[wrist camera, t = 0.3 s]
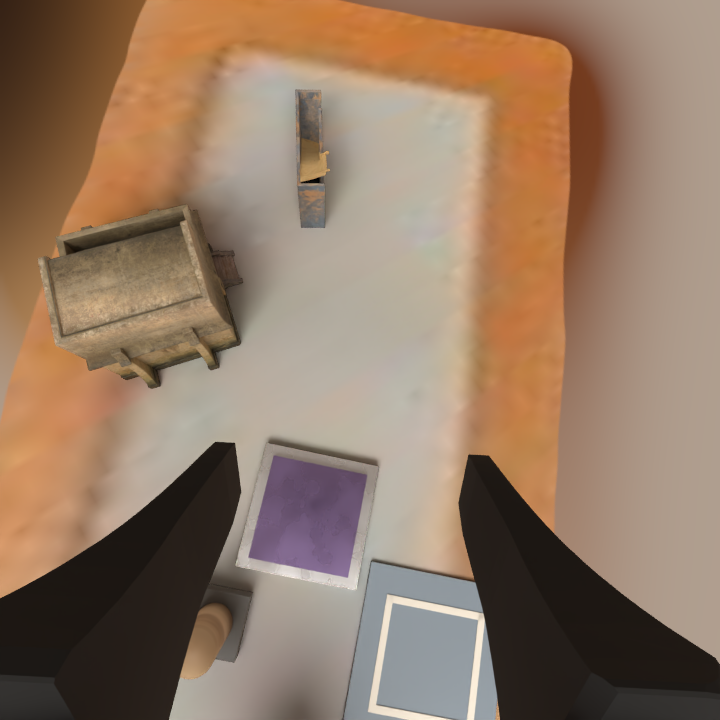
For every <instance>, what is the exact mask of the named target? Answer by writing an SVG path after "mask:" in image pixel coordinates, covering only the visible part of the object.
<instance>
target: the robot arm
mask: <svg viewBox="0 0 720 720" xmlns="http://www.w3.org/2000/svg"><path fill="white" fill-rule="evenodd" d="M240 494H241V486H240V478H239V471H238V463H237V455H236V448H235V443H226V442H215V443H214V444H212V445H211V446H210V447H209V448H208V449H207V450H206V451H205V452H204V453H203V454H202V455H201V456H200V457H199V458H198V459H197V460H196V461H195V462H194V463H193V464H192V465H191V466H190V467H189V468H188V469H187V470H186V471H185V472H183V473H182V474H181V475H180V476H179V477H178V478H177V479H176V480H175V481H174V482H173V483H172V484H171V485H169V486H168V487H167V488H166V489H165V490H164V491H163V492H162V493H161V494H159V495H158V496H157V497H156V498H155V499H154V500H152V501H151V502H150V503H149V504H148V505H146V506H145V507H144V508H143V509H142V510H141V511H139V512H138V513H137V514H136V515H134V516H133V517H132V518H131V519H129V520H128V521H127V522H125V523H124V524H123V525H121V526H120V527H119V528H117V529H116V530H114V531H113V532H112V533H110V534H109V535H108V536H106V537H105V538H103V539H102V540H100V541H99V542H97V543H96V544H94V545H93V546H91V547H89V548H88V549H86V550H85V551H83V552H82V553H80V554H78V555H77V556H75V557H74V558H72V559H71V560H69V561H68V562H66V563H64V564H63V565H61V566H59V567H57V568H56V569H54V570H52V571H51V572H49V573H47V574H45V575H44V576H42V577H40V578H38V579H36V580H35V581H33V582H31V583H29V584H27V585H25V586H24V587H22V588H20V589H18V590H16V591H14V592H12V593H10V594H8V595H6V596H4V597H2V598H0V720H169V717H170V713H171V709H172V705H173V701H174V697H175V694H176V690H177V686H178V682H179V678H180V675H181V671H182V667H183V664H184V660H185V657H186V653H187V649H188V646H189V642H190V639H191V636H192V632H193V629H194V625H195V622H196V619H197V615H198V612H199V609H200V606H201V603H202V600H203V597H204V595H205V592H206V589H207V587H208V584H209V582H210V579H211V577H212V574H213V572H214V569H215V567H216V564H217V562H218V560H219V557H220V555H221V552H222V550H223V547H224V545H225V542H226V539H227V537H228V534H229V532H230V529H231V527H232V524H233V521H234V517H235V514H236V510H237V506H238V502H239V498H240ZM459 510H460V518H461V525H462V532H463V537H464V541H465V545H466V549H467V553H468V556H469V560H470V564H471V568H472V572H473V575H474V579H475V583H476V587H477V590H478V594H479V598H480V602H481V606H482V610H483V614H484V619H485V623H486V629H487V635H488V641H489V647H490V653H491V659H492V666H493V672H494V679H495V686H496V692H497V699H498V706H499V714H500V720H720V664H719V663H718V661H717V660H716V658H715V657H713V656H712V655H710V654H708V653H707V652H705V651H704V650H702V649H700V648H699V647H698V646H696V645H694V644H693V643H691V642H690V641H688V640H687V639H685V638H684V637H682V636H680V635H679V634H677V633H676V632H674V631H672V630H671V629H670V628H668V627H667V626H665V625H664V624H662V623H661V622H660V621H658V620H657V619H655V618H654V617H652V616H651V615H650V614H648V613H647V612H646V611H644V610H643V609H641V608H640V607H639V606H637V605H636V604H635V603H633V602H632V601H631V600H629V599H628V598H627V597H625V596H624V595H623V594H621V593H620V592H619V591H618V590H616V589H615V588H614V587H613V586H612V585H610V584H609V583H608V582H607V581H605V580H604V579H603V578H602V577H600V576H599V575H598V574H597V573H596V572H595V571H593V570H592V569H591V568H590V567H589V566H588V565H586V564H585V563H584V562H583V561H582V560H581V559H580V558H579V557H578V556H577V555H575V553H573V552H572V551H571V550H570V549H569V548H568V547H567V546H566V545H565V544H564V543H563V542H562V541H561V540H560V539H559V538H558V537H557V536H556V535H555V534H554V533H553V532H552V531H551V530H550V529H549V528H548V527H547V526H546V525H545V523H544V522H543V521H542V520H541V519H540V518H539V517H538V516H537V515H536V513H535V512H534V511H533V510H532V509H531V508H530V506H529V505H528V504H527V503H526V502H525V501H524V499H523V498H522V497H521V496H520V495H519V493H518V492H517V491H516V490H515V488H514V487H513V486H512V485H511V483H510V482H509V481H508V480H507V478H506V477H505V476H504V475H503V473H502V472H501V471H500V469H499V468H498V467H497V466H496V464H495V463H494V462H493V460H492V459H491V458H490V457H489V456H486V455H468V460H467V464H466V469H465V474H464V479H463V484H462V488H461V493H460V498H459Z"/></svg>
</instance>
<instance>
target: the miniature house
mask: <svg viewBox="0 0 720 720" xmlns="http://www.w3.org/2000/svg"><path fill="white" fill-rule="evenodd" d="M56 242H57V247H58V251H59V256H60V257H57V258H54V259H50V258H49V257H47V256H45V257H41V258H38V263H39V268H40V272H41V277H42V283H43V287H44V292H45V297H46V302H47V307H48V312H49V317H50V321H51V326H52V331H53V336H54V341H55V345H56V346H58V347H60V348H62V349H65V350H67V351H69V352H71V353H73V354H75V355H78V356H80V357H82V358H84V359H86V361H87V366H88V370H89V371H91V370H95V369H98V368H101V367H103V368H106V369H108V370H110V371H112V372H114V373H116V374H119V375H121V378H123V379H125V380H128V379H132V378H135V377H138V376H140V377H141V378H142V379H143V380H144V381H145V382H146V383H147V384H148V387H149V388H151V389H153V388H156V387H160V381H159V377H158V373H157V371H158V370H161V369H164V368H167V367H171V366H174V365H177V364H180V363H183V362H187V361H190V360H193V359H196V358H200V357H203V358H204V360H205V361H206V363H207V365H208V368H209V369H210V370H214V369H217V368H219V365H218V361H217V358H216V354H215V353H216V352H219V351H222V350H226V349H229V348H232V347H235V346H238V345H240V344H241V342H240V339H239V336H238V332H237V329H236V326H235V322H234V319H233V316H232V313H231V309H230V306H229V303H228V300H227V296H226V292H225V288H226V287H229V286H233V285H236V284H240V283H243V280H242V278H239V277H238V274H237V270H236V267H235V264H234V261H233V258H232V256H234V252H233V251H219V250H218V251H214V252H213V251H212V248H211V246H210V244H208V243H207V240H206V237H205V234H204V230H203V227H202V224H201V221H200V217H199V214H198V211H197V210H193V211H191V210H190V209H189V207H188V205H187V204H185V205H181V206H177V207H173V208H169V209H165V210H161V211H159V209H155V210H151V211H149V214H145V215H141V216H137V217H133V218H129V219H125V220H121V221H117V222H113V223H109V224H105V225H101V226H97V227H92V226H87V227H83V228H81V231H77V232H73V233H69V234H65V235H61V236H57V237H56Z"/></svg>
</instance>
